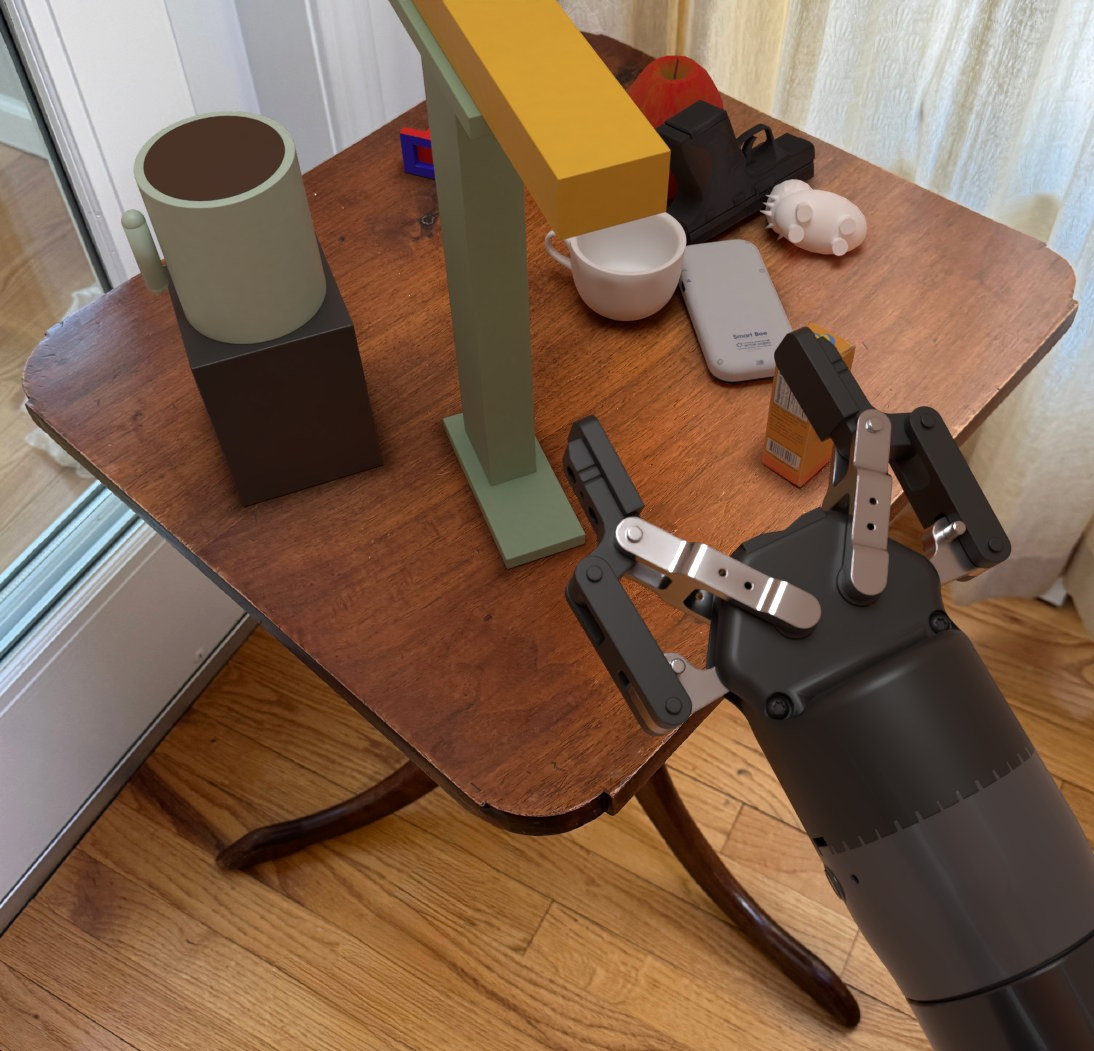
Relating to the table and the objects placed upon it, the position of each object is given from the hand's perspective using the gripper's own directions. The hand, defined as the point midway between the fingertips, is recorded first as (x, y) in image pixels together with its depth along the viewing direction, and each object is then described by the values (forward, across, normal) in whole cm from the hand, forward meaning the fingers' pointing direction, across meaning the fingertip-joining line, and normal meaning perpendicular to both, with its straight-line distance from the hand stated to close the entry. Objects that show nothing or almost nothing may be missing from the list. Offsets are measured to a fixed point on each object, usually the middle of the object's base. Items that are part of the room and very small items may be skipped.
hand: (685, 382), depth 40 cm
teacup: (+19, -14, +35) cm, 43 cm away
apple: (+28, -24, +38) cm, 53 cm away
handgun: (+27, -27, +27) cm, 47 cm away
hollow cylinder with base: (+18, +10, +34) cm, 40 cm away
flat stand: (+8, -1, +31) cm, 32 cm away
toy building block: (+41, -9, +41) cm, 58 cm away
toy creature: (+16, -29, +31) cm, 46 cm away
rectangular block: (+14, 0, +1) cm, 14 cm away
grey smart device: (+14, -21, +31) cm, 40 cm away
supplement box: (+2, -17, +29) cm, 34 cm away
